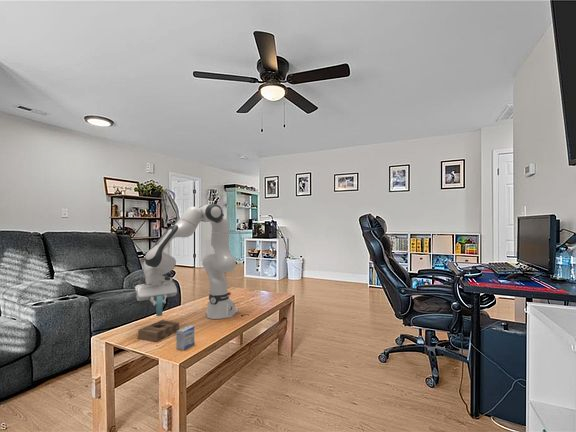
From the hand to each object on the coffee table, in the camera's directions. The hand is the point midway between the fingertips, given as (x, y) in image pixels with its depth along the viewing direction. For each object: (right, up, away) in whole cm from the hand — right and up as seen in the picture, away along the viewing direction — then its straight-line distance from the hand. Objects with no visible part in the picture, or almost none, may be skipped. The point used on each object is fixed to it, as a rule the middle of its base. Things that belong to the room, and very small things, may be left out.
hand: (159, 304), depth 153 cm
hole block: (0, -16, 0) cm, 16 cm away
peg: (0, -6, 0) cm, 6 cm away
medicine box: (+19, -16, -15) cm, 29 cm away
